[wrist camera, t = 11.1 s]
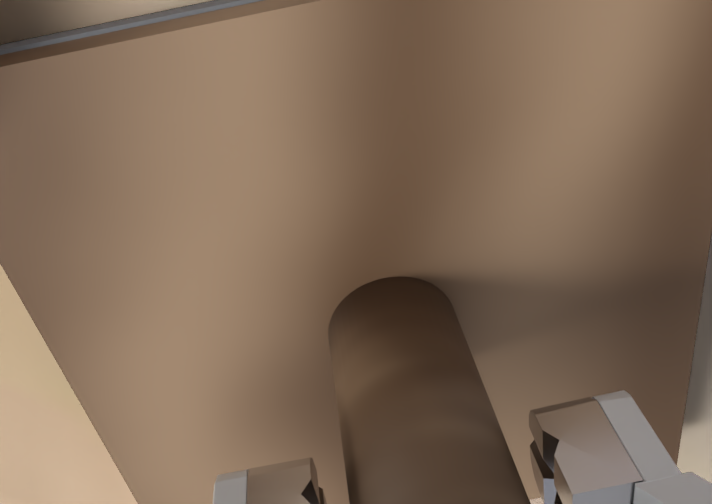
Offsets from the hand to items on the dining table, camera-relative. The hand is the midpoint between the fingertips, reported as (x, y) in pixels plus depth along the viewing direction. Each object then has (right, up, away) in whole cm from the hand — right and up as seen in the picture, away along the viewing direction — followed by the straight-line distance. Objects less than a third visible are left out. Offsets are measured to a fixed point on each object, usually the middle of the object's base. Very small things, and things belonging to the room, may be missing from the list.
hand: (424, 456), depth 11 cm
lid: (0, +2, +3) cm, 4 cm away
